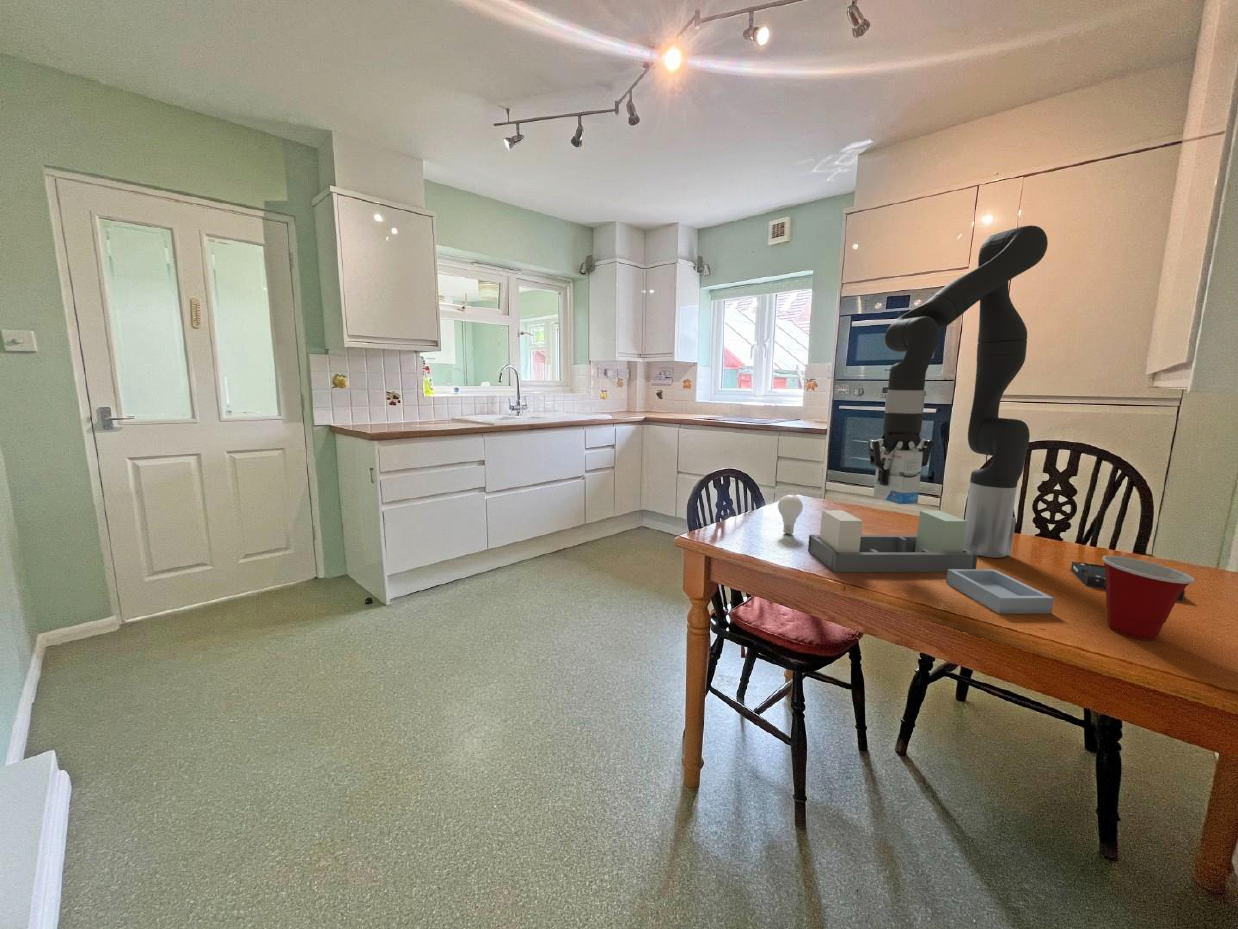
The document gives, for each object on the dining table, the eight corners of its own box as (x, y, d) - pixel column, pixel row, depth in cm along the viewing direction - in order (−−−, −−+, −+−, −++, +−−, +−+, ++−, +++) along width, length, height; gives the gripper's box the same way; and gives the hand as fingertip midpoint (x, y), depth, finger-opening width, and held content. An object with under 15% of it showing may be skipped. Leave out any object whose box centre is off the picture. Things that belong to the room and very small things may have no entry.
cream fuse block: (838, 554, 122) (842, 510, 120) (857, 568, 113) (862, 520, 111) (818, 554, 122) (822, 510, 120) (835, 568, 113) (840, 520, 111)
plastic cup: (1200, 654, 79) (1216, 581, 77) (1115, 643, 82) (1129, 573, 80) (1149, 622, 89) (1162, 557, 87) (1075, 613, 92) (1087, 551, 90)
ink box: (918, 503, 112) (924, 451, 110) (900, 505, 111) (905, 452, 109) (890, 495, 120) (894, 446, 118) (872, 496, 119) (876, 446, 117)
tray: (992, 582, 106) (994, 569, 105) (1051, 613, 92) (1054, 598, 91) (945, 582, 105) (947, 569, 105) (998, 613, 91) (1001, 598, 91)
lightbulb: (803, 538, 134) (807, 498, 132) (779, 537, 134) (782, 497, 132) (796, 531, 140) (799, 492, 138) (773, 530, 140) (775, 492, 138)
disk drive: (1085, 589, 105) (1184, 603, 98) (1087, 576, 104) (1187, 590, 98) (1069, 572, 114) (1158, 584, 107) (1071, 560, 114) (1161, 572, 107)
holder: (933, 550, 125) (935, 535, 125) (975, 571, 112) (977, 554, 111) (807, 550, 124) (809, 534, 123) (834, 572, 110) (836, 554, 109)
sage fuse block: (934, 554, 123) (940, 510, 121) (960, 568, 114) (967, 521, 112) (914, 554, 123) (919, 510, 121) (939, 568, 114) (945, 521, 112)
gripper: (924, 409, 116) (916, 481, 119) (863, 409, 115) (857, 481, 118) (946, 411, 108) (937, 488, 111) (881, 411, 108) (874, 488, 111)
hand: (896, 484), depth 115 cm, fingers closed on ink box, 5 cm apart
